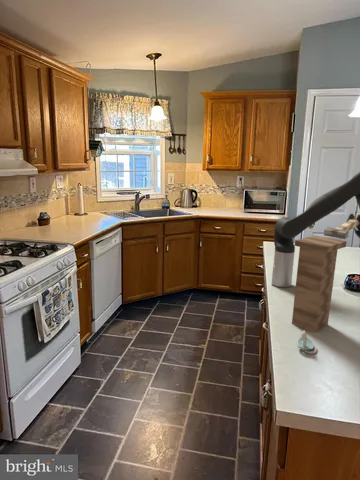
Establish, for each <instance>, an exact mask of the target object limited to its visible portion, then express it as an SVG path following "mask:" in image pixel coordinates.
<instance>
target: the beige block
mask: <svg viewBox="0 0 360 480" xmlns="http://www.w3.org/2000/svg"><path fill="white" fill-rule="evenodd" d="M357 216H358V215H356V216H355V218H353V219H351V220H349V221H347V220H346V221H347V222H346V221H345V222H344V223H342V224H340V225H339V226H337V227H329V226H327V227H326V228H324V229H323V236H324V237H326V236H327V237H329V238H330V237H331V238H336V239H342V240H346V239H348V238H349V237H350V236H349V234H350V231H351V230H352V229H353V228H354V227H356V226H357V225H359V224H360V223H359V222H358V220H357ZM353 230H354V229H353Z"/></svg>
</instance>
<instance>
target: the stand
mask: <svg viewBox="0 0 360 480" xmlns="http://www.w3.org/2000/svg"><path fill="white" fill-rule="evenodd" d="M294 240H295V241H294V246H295V247H299V250H298V251H299V252H298V260H297V261H298V262H297V270H296V281H295V289H294V291H295V292H294V299H293V308H292V319H291V320H292V321H291V324H293V325H295V326H297V327H299V328H302V329H305V330H307V331H310V332H312V333H316V332H318V331H319V330H321V329H322V328H323V329H324V327H327V326H328V325H329V318H330V310H331V302H332V295H333V294H332V293H333V287H334V279H335V274H336V273H335V271H336V266H337V265H336V263H337V257H338V256H337V255H338V250H341V249H344V248H347V241H346V240H343V239H342V240H340V239H337V238H336V239H335V238H332V237H331V238H330V237H326V236H319V235H312V236H311V235H310V236H306V237H303V238H299V239H294Z"/></svg>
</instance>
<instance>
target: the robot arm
mask: <svg viewBox="0 0 360 480" xmlns="http://www.w3.org/2000/svg"><path fill="white" fill-rule="evenodd" d="M354 197H355V200H356V202H357V205H358V208H359V209H360V171H359V172H358V173H356V174H354V175H353V176H352V177H351V178H350V179H349V180H348V181H347V182H345V183H343V184H342V185H339V186H337V187H335V188H333V189H331V190H329V191H327V192H325V193H323V194H322V195H320V196H319V197H317V198H316V199H314V200H313V201H312V202H311V203H310V204H309V206H308V207H307V208H306V209H305V210H304V211H303V212H301V213H300V214H299V215H297V216H295V217H293V218H290V217H286V216H283V217H280V218H279V219H278V220H277V221H276V223H275V226H274V232H273V233H274V235H273V243H274V255H273V256H274V257H273V266H272V274H271V275H272V277H271V286H275V287H277V288H279V287H280V288H290V287H291V286H292V283H293V281H292V280H293V273H294V272H293V271H294V261H295V252H296V246H295V243H294V241H293V238H295V237H297V236H299V235H300V234H301V233H303V231H305V230H306V229H308V228H309V227H311V226H312V225H313V224H315V223H317V222H318V221H320V220H322V219H323V218H325V217H327V216H328V215H330V214H332V213H333V212H335V211H336V210H338V209H340V208H341V207H342V206H343V205H345V204H346V203H347V202H348V201H350V200H351V199H352V198H354ZM356 216H357V220H358V222H359V223H360V214H357V215H356ZM356 216H355V215H354V213H350V214H349V215H348V217H347V218H346V219H347V220H346V221H345V223H346V222H347V221H349V220H351V219H353V218H355V217H356ZM353 230H354V234H355V236H356V237H358V239H359V240H360V224H359V225H357V226H356V227H354V228H353Z"/></svg>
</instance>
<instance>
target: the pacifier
mask: <svg viewBox="0 0 360 480" xmlns="http://www.w3.org/2000/svg"><path fill="white" fill-rule="evenodd" d="M300 335H301V337H299V339H298V345H297V348H299V349H301V350H302V351H303V352H305V353H307V354H309V355H313V354H316V353H317V351H318V348H317V347H316V345H315V344H314V343H313V341H312V339H310V338H308V337H307V332H306V330H303V331H302V332H301V334H300Z"/></svg>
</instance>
